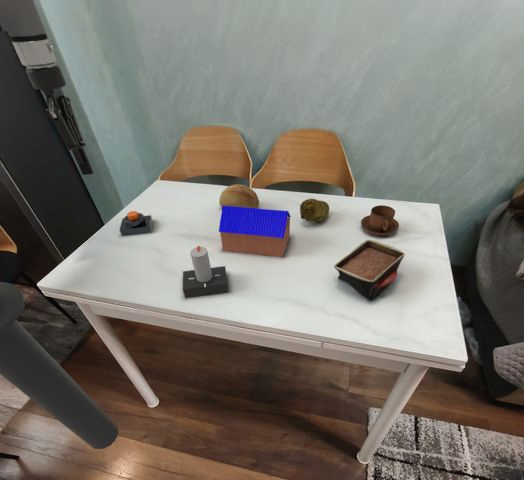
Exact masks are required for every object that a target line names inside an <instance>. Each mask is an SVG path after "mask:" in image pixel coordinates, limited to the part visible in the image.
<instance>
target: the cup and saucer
mask: <svg viewBox="0 0 524 480" xmlns="http://www.w3.org/2000/svg"><path fill="white" fill-rule="evenodd" d="M395 215H396V210H395V209H394V208H393V207H391V206H388V205H382V204H381V205H380V204H379V205H375V206H373V207H372V208H371V210H370V214H369V215H366V216H364V217H363V218H362V219H361V221H360V226H361V228H362V229H363V230H364V231H365V232H367V233H369V234H371V235H375V236H388V235H392V234H394V233H395V232H397V231H398V229H399V227H400V224H399V222H398V220H396V219H395Z"/></svg>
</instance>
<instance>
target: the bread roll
mask: <svg viewBox="0 0 524 480" xmlns="http://www.w3.org/2000/svg"><path fill="white" fill-rule="evenodd" d="M218 202H219V206H220V208H222V206H233V207H245V208H257V209H258V207H259V206H260V200H259V196H258V194H257V193H256V191H254V189H252V188H251V187H249V186H247V185H245V184H235V183H234V184H231V185H229V186H227V187H226V188H225V189H224V188H223V190H222V191H221V193H220V196H219V200H218Z"/></svg>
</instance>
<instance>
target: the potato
mask: <svg viewBox="0 0 524 480" xmlns="http://www.w3.org/2000/svg"><path fill="white" fill-rule="evenodd" d="M299 213H300V218H301V219H302V220H304V221H306V222H307V223H309V222H310V223H312V222H313V223H321V222H323V221H324V220H325V219H327V218H328V216H329V213H330V205H329V203H328V202H326V201H325V200H318V199H316V198H308V199H305V200H304V201H302V203H300V205H299Z"/></svg>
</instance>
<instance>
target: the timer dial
mask: <svg viewBox="0 0 524 480" xmlns="http://www.w3.org/2000/svg"><path fill="white" fill-rule="evenodd" d="M189 255H190V258H191V261H192V262H191V263H192V266H193V270H195V274H196V278H197V280H198V281H200V282H207V281H209V280H211V279H212V271H211V268H212V267H211V262H210V256H209V252H208V249H207V248H206V247H204V246H200V245H197V246H196V247H194V248H192V249H190V251H189Z"/></svg>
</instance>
